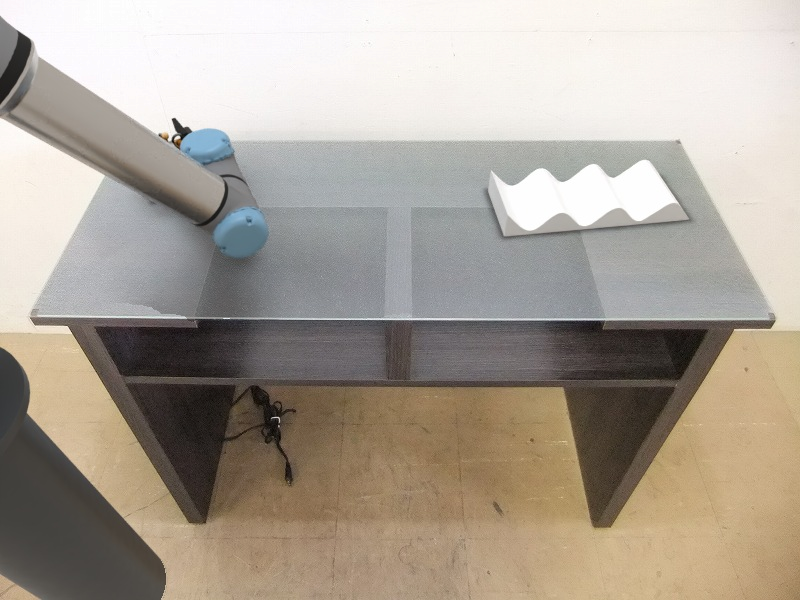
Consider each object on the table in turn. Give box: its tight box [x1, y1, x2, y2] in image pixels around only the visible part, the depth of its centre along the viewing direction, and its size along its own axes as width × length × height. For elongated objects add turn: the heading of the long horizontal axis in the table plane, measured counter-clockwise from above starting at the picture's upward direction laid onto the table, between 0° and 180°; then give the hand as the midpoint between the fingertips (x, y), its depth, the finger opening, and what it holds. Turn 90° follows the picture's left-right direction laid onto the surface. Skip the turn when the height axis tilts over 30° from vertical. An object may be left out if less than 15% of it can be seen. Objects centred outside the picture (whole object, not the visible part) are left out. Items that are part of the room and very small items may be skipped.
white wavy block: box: [487, 159, 690, 237], centre depth 111 cm, size 13×35×5 cm, turn 97°
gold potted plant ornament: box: [157, 131, 183, 150], centre depth 117 cm, size 5×5×8 cm
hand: (158, 130), depth 118 cm, fingers closed on gold potted plant ornament, 6 cm apart
